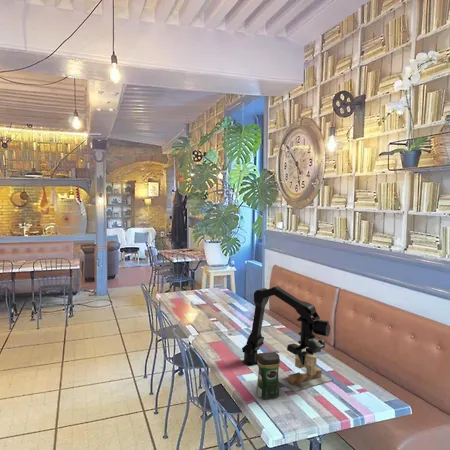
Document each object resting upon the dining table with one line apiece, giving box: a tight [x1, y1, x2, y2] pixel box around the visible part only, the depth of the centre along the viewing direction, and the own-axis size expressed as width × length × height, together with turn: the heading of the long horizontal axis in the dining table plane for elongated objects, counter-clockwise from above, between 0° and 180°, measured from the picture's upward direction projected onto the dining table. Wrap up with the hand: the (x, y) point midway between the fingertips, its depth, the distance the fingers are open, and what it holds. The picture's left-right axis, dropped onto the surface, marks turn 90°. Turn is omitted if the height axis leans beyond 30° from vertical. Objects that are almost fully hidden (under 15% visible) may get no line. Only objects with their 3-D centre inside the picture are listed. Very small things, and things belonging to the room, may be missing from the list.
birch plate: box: [294, 350, 318, 375], centre depth 174 cm, size 3×11×8 cm, turn 30°
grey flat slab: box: [278, 367, 334, 393], centre depth 175 cm, size 24×12×4 cm, turn 120°
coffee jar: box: [255, 351, 281, 400], centre depth 160 cm, size 10×8×19 cm
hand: (305, 364), depth 174 cm, fingers closed on birch plate, 3 cm apart
